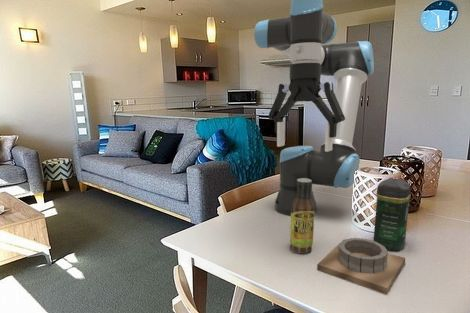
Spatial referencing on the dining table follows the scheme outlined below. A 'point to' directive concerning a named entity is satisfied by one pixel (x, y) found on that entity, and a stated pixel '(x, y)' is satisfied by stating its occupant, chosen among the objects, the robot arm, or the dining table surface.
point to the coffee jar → (392, 213)
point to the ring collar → (363, 264)
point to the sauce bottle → (302, 218)
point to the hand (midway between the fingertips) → (303, 148)
